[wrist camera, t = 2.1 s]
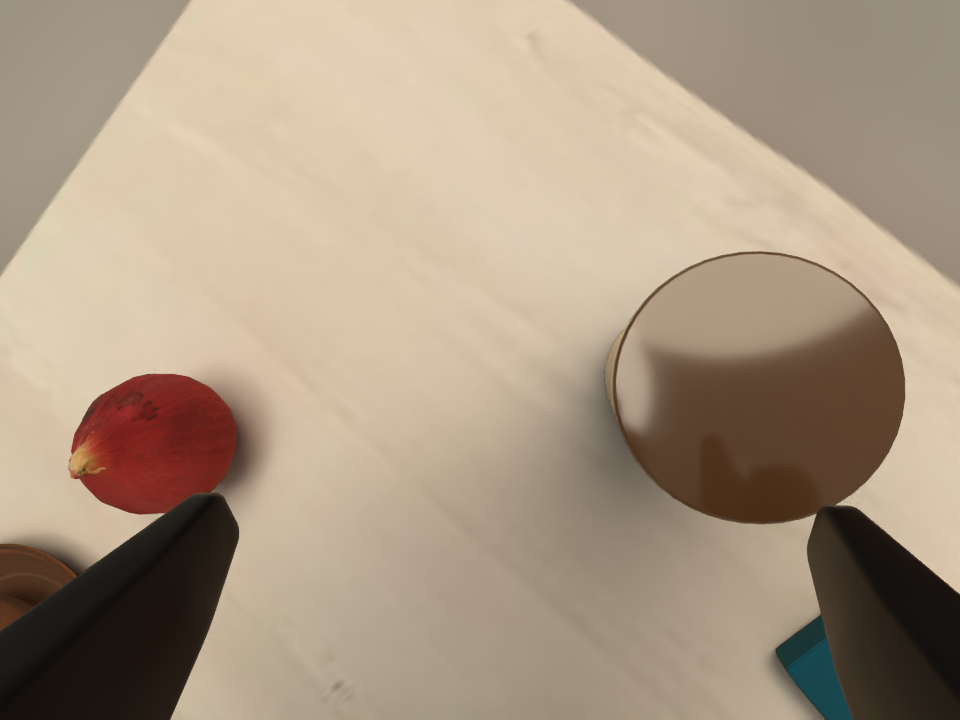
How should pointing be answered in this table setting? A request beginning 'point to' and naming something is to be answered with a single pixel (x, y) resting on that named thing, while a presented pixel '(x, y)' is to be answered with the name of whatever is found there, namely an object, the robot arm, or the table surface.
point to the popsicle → (815, 670)
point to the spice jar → (757, 387)
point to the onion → (153, 443)
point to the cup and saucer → (27, 580)
